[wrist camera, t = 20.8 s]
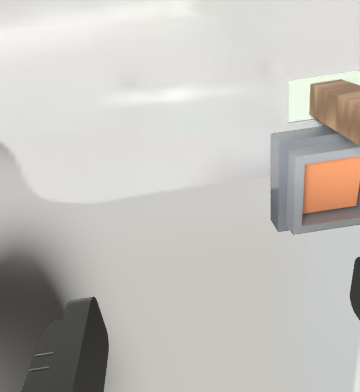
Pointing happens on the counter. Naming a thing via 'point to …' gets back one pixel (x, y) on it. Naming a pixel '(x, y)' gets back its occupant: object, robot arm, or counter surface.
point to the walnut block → (337, 107)
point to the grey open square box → (294, 178)
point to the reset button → (331, 184)
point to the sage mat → (301, 93)
